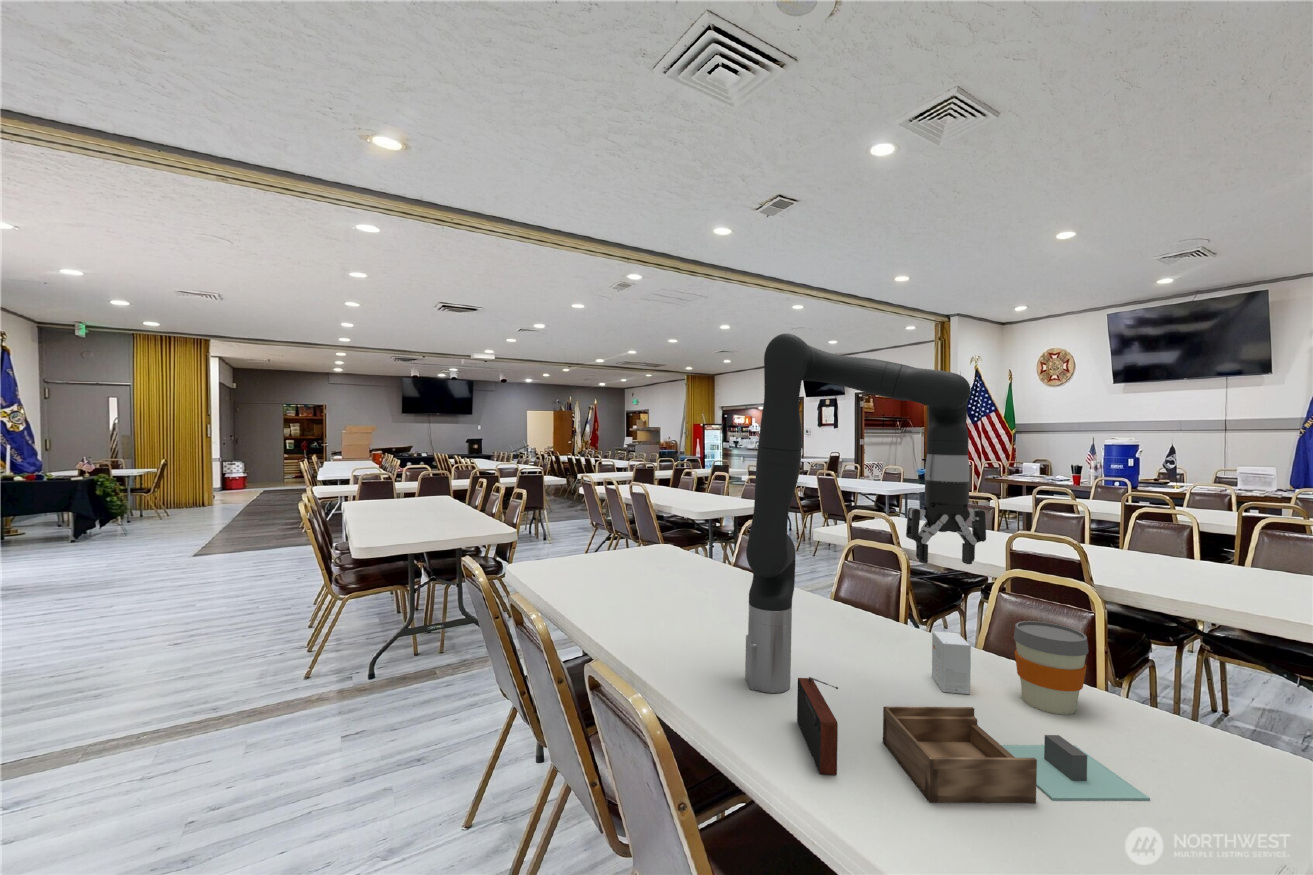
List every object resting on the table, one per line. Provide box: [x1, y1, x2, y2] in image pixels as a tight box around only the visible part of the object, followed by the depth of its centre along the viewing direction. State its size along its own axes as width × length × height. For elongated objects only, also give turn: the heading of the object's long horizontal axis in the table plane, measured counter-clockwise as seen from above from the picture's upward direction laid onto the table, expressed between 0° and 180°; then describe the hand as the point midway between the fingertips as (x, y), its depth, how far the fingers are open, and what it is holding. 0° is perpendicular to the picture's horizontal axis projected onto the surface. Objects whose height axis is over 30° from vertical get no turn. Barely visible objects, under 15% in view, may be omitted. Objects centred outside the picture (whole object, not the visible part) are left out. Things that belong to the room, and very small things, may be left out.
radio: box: [796, 676, 839, 776], centre depth 95 cm, size 19×3×15 cm, turn 178°
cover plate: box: [1000, 734, 1151, 802], centre depth 90 cm, size 15×14×5 cm
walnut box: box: [882, 706, 1037, 804], centre depth 90 cm, size 16×16×6 cm
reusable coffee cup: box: [1013, 620, 1089, 716], centre depth 114 cm, size 12×13×15 cm
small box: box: [931, 630, 972, 695], centre depth 122 cm, size 8×6×10 cm
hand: (945, 563), depth 106 cm, fingers open, 8 cm apart
